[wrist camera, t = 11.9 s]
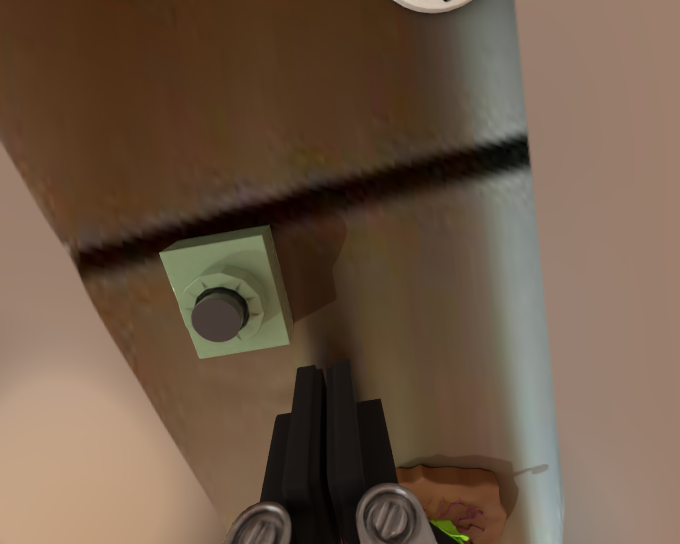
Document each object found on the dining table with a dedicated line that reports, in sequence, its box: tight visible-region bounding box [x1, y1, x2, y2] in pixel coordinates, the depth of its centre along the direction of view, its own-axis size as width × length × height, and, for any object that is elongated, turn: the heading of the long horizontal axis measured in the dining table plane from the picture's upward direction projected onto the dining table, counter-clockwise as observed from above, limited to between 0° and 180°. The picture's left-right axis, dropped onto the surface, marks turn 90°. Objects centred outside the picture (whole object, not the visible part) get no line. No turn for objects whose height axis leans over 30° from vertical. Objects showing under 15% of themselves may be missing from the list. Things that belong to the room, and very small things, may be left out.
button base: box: [159, 225, 294, 359], centre depth 31 cm, size 11×9×6 cm
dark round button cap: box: [191, 289, 247, 342], centre depth 28 cm, size 4×4×2 cm
